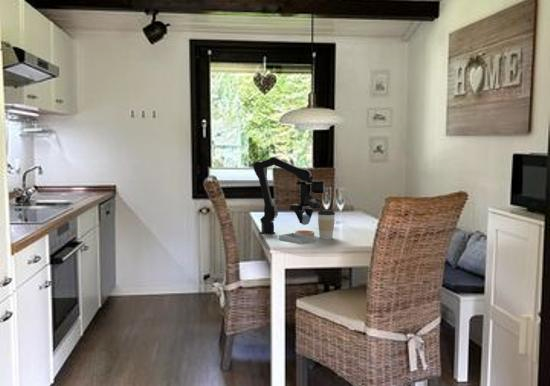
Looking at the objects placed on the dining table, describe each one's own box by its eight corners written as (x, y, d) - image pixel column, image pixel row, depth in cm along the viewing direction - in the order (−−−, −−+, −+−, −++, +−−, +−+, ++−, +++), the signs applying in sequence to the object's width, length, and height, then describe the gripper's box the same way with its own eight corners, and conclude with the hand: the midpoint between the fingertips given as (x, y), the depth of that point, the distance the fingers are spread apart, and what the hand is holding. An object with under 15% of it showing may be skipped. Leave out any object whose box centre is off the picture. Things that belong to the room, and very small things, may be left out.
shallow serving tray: (278, 239, 271) (278, 235, 270) (292, 236, 278) (292, 232, 278) (300, 243, 260) (301, 239, 260) (314, 240, 268) (314, 236, 267)
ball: (305, 226, 278) (305, 215, 278) (297, 224, 282) (297, 214, 281) (312, 224, 282) (312, 214, 281) (304, 223, 286) (304, 213, 285)
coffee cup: (333, 236, 281) (333, 208, 280) (335, 239, 272) (336, 210, 271) (316, 236, 281) (316, 208, 279) (318, 239, 272) (318, 210, 270)
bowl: (291, 235, 282) (291, 231, 282) (303, 233, 290) (303, 229, 289) (305, 237, 276) (305, 234, 275) (318, 235, 283) (318, 231, 282)
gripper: (304, 195, 268) (304, 226, 270) (328, 193, 281) (327, 222, 283) (288, 193, 276) (288, 223, 277) (312, 191, 289) (311, 220, 291)
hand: (304, 222), depth 282 cm, fingers closed on ball, 6 cm apart
